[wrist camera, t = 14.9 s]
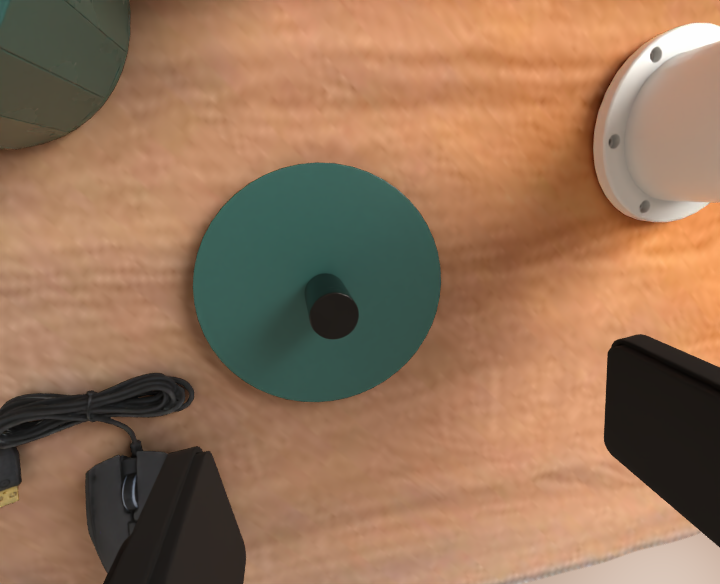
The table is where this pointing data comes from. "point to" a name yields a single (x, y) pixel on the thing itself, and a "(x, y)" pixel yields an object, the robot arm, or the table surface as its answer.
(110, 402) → the computer mouse
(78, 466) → the table surface
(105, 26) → the tin
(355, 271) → the tin lid
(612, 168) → the robot arm
